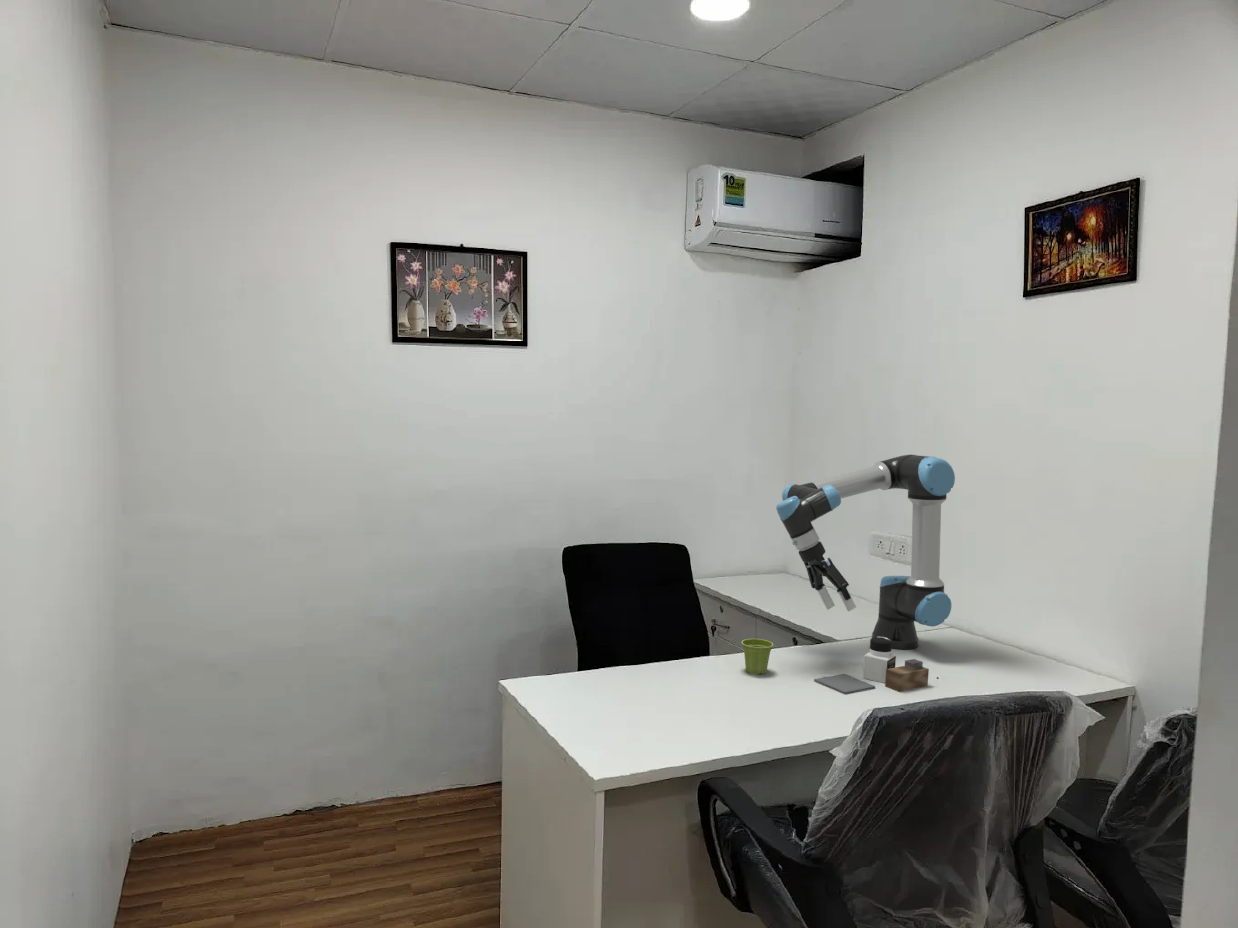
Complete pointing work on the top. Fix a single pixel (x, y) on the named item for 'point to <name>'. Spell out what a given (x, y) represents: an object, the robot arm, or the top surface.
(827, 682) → the mat
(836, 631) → the top surface
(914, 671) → the plane body block
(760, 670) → the plant pot
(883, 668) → the medicine bottle
